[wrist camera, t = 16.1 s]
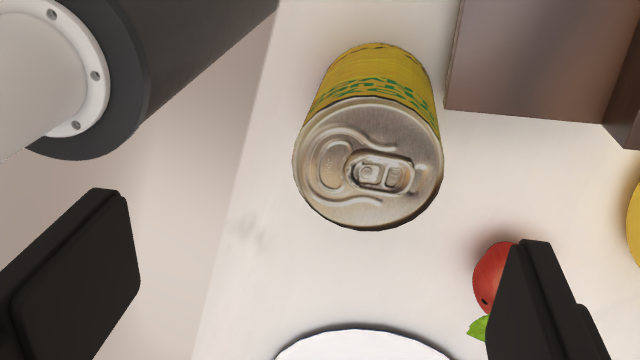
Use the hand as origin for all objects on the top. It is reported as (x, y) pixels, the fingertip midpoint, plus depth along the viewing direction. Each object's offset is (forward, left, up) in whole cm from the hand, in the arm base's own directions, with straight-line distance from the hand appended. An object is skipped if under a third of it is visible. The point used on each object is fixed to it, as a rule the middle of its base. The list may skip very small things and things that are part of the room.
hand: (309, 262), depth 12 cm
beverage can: (+1, -6, -28) cm, 29 cm away
